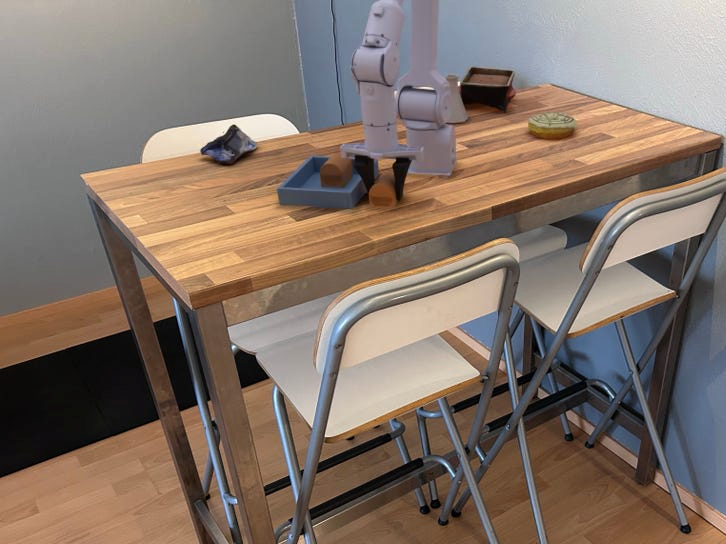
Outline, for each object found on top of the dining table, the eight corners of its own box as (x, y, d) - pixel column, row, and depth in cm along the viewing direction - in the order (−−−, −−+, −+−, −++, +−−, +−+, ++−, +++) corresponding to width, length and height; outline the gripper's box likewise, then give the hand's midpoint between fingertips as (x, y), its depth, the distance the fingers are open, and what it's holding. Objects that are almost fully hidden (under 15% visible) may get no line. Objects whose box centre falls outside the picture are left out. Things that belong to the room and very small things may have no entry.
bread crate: (379, 176, 144) (377, 158, 142) (353, 212, 130) (350, 192, 128) (312, 173, 146) (310, 155, 144) (279, 207, 132) (276, 188, 130)
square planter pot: (521, 106, 190) (520, 64, 186) (508, 115, 174) (507, 69, 170) (467, 107, 193) (465, 66, 189) (449, 116, 178) (446, 71, 173)
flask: (467, 124, 171) (467, 79, 166) (436, 124, 172) (435, 79, 166) (468, 114, 177) (468, 71, 172) (438, 115, 178) (437, 71, 172)
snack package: (272, 158, 154) (253, 141, 161) (262, 129, 149) (243, 113, 157) (217, 179, 150) (201, 161, 157) (205, 150, 145) (189, 133, 153)
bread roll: (402, 197, 136) (400, 172, 133) (394, 210, 131) (392, 185, 129) (379, 195, 137) (377, 171, 134) (370, 208, 132) (367, 183, 129)
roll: (353, 176, 143) (350, 153, 140) (343, 187, 138) (341, 164, 136) (331, 175, 144) (328, 151, 141) (321, 186, 139) (318, 162, 136)
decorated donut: (585, 135, 164) (587, 118, 162) (547, 144, 160) (548, 126, 157) (556, 123, 172) (557, 106, 169) (519, 131, 167) (519, 114, 164)
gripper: (331, 127, 123) (340, 203, 131) (415, 130, 121) (420, 208, 129) (344, 114, 129) (352, 188, 137) (425, 118, 127) (428, 193, 135)
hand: (386, 197), depth 133 cm, fingers closed on bread roll, 4 cm apart
